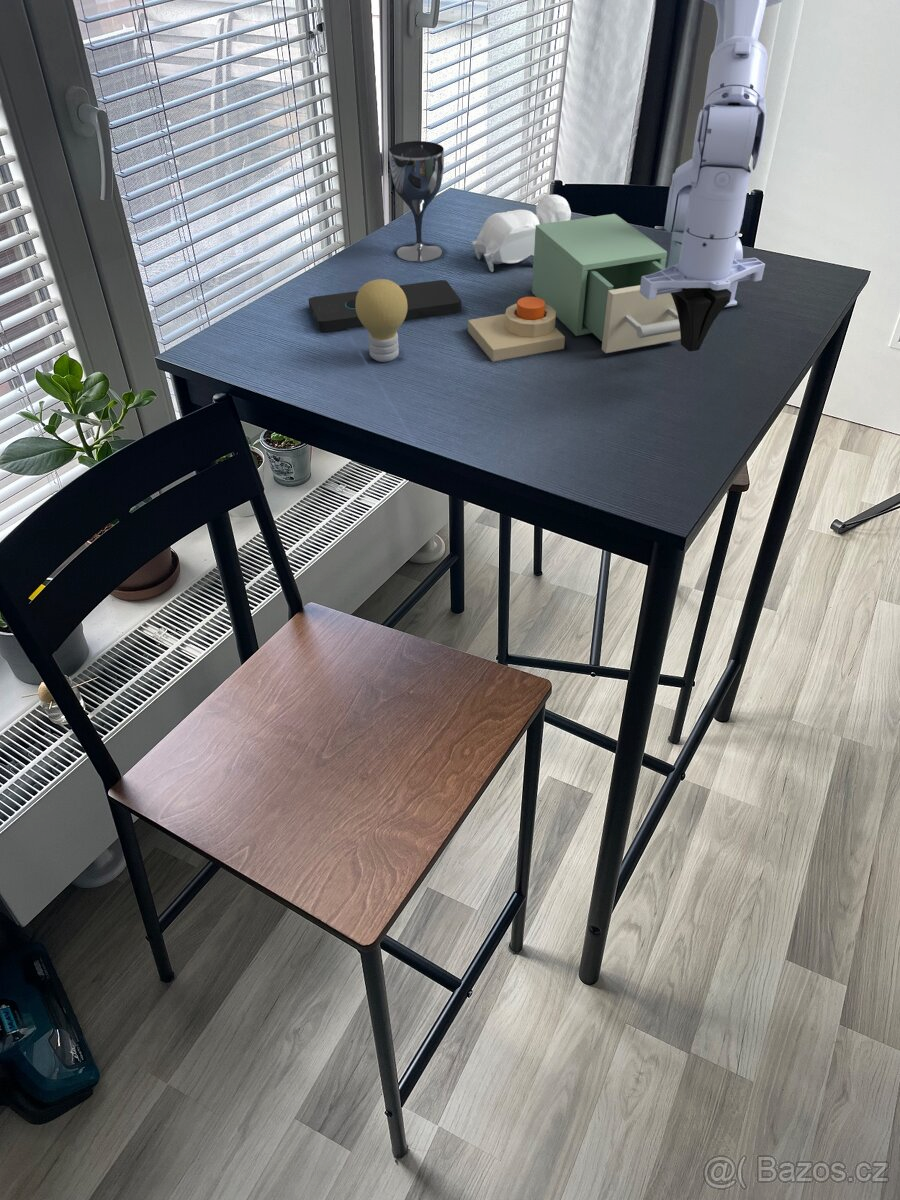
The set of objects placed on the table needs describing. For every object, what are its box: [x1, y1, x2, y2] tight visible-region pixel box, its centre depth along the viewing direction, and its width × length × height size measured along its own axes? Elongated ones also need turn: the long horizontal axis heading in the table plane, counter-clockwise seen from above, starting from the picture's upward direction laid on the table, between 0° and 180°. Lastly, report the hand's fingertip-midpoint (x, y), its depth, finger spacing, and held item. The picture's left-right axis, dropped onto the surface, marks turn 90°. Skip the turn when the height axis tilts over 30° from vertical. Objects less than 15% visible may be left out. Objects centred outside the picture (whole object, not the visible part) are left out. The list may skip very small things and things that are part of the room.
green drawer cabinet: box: [531, 213, 668, 337], centre depth 125 cm, size 15×12×10 cm
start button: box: [516, 296, 545, 320], centre depth 118 cm, size 4×4×2 cm
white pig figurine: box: [471, 194, 572, 273], centre depth 138 cm, size 9×8×15 cm
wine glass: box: [388, 140, 445, 263], centre depth 138 cm, size 8×8×15 cm
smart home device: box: [308, 279, 462, 333], centre depth 127 cm, size 8×2×20 cm
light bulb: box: [355, 278, 408, 363], centre depth 114 cm, size 6×6×10 cm
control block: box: [467, 303, 566, 362], centre depth 120 cm, size 10×9×4 cm
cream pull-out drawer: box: [582, 260, 681, 354], centre depth 118 cm, size 18×11×8 cm, turn 20°
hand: (690, 347), depth 107 cm, fingers closed
